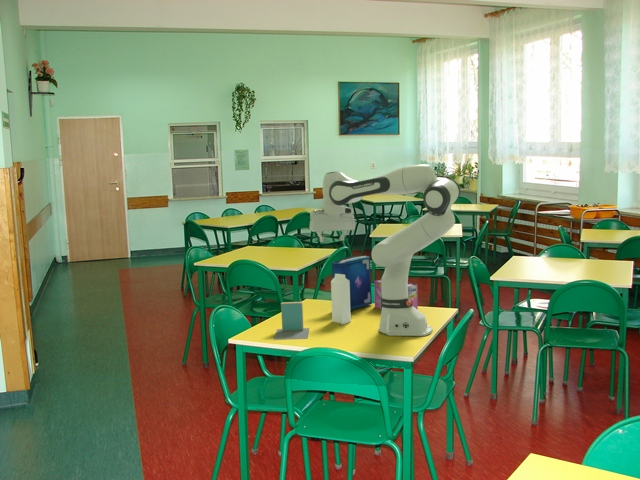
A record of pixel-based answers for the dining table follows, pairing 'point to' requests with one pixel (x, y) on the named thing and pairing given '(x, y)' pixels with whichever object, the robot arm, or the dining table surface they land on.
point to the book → (356, 279)
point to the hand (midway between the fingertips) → (331, 241)
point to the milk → (340, 299)
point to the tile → (292, 316)
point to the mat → (291, 334)
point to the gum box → (411, 293)
